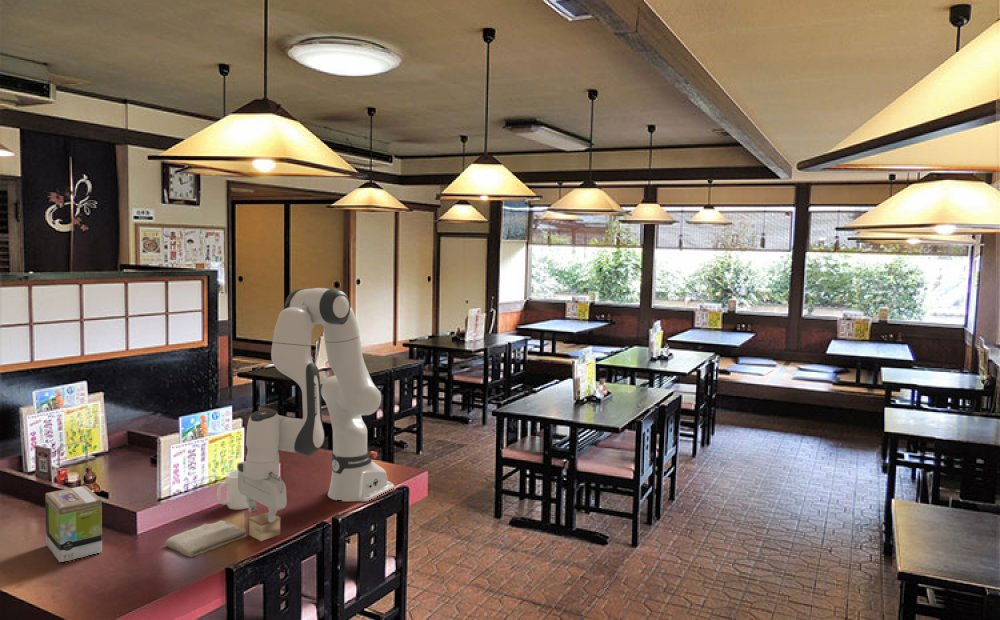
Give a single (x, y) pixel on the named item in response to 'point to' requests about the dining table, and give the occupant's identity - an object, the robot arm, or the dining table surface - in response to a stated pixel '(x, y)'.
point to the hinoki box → (263, 527)
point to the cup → (232, 493)
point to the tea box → (73, 523)
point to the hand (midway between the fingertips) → (261, 516)
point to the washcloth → (205, 538)
